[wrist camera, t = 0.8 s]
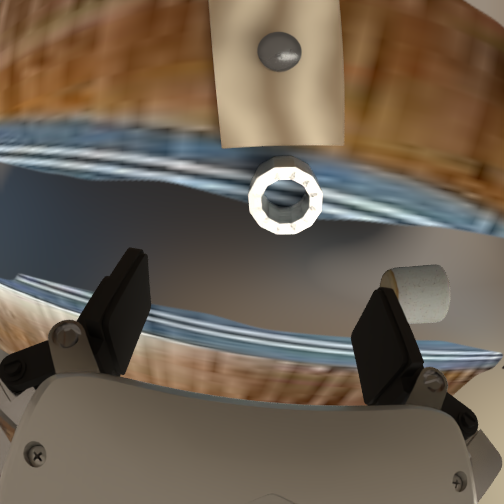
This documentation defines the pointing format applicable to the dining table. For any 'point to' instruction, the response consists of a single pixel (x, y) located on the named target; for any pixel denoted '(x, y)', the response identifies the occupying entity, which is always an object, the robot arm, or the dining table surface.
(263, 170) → the ring
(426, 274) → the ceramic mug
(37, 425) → the robot arm
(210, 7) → the block
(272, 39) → the dark domed cylinder
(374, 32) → the dining table surface
